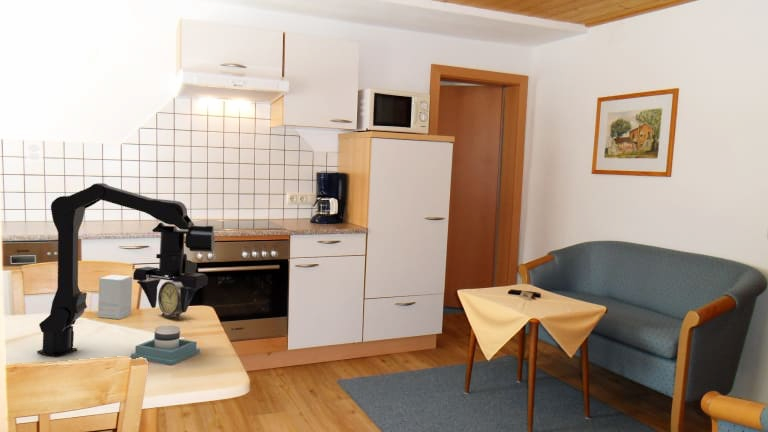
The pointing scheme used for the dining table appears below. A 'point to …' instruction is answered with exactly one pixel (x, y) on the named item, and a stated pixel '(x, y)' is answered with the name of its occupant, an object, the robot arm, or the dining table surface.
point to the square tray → (166, 352)
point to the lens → (167, 337)
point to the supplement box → (115, 296)
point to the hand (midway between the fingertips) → (168, 309)
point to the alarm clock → (170, 298)
